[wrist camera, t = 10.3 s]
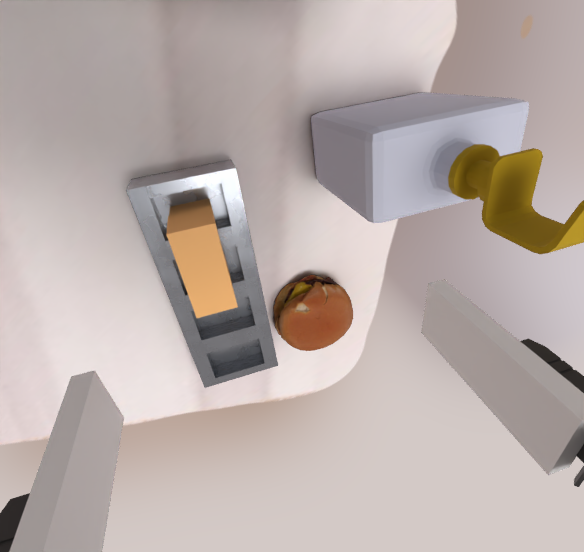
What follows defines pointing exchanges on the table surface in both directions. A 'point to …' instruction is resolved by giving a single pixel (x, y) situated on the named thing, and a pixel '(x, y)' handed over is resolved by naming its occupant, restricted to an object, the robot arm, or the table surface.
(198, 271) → the orange bridge block
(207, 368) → the grey compartment tray
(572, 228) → the soap bottle
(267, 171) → the table surface
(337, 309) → the burger
